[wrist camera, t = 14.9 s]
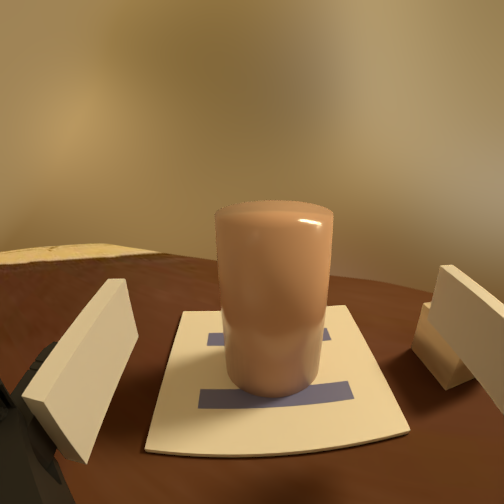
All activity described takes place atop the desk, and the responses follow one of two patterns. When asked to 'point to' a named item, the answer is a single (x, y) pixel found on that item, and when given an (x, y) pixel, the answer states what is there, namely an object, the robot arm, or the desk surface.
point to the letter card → (270, 409)
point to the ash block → (438, 354)
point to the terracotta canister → (273, 292)
